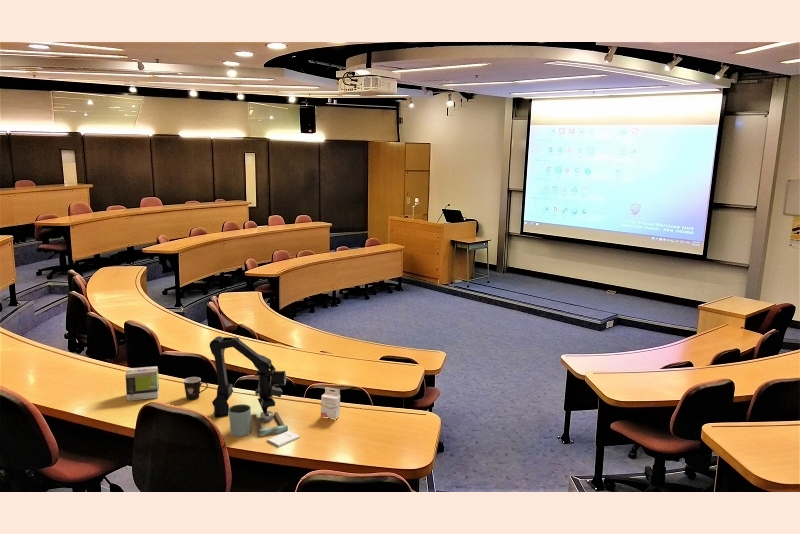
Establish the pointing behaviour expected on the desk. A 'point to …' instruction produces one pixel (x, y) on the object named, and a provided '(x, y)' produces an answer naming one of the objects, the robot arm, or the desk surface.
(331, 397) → the ink cartridge box
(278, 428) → the channel
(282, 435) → the external hard drive
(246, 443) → the desk surface
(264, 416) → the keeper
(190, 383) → the coffee mug
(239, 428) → the pale green cup
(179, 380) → the desk surface
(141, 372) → the tea box
